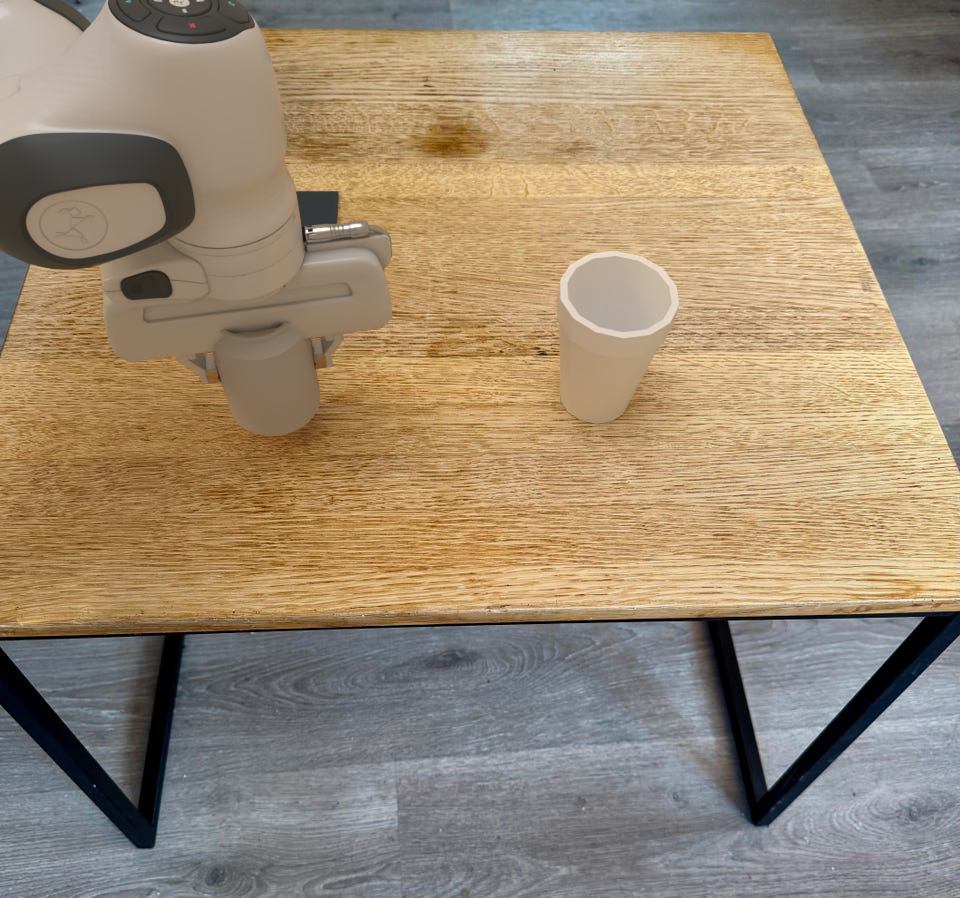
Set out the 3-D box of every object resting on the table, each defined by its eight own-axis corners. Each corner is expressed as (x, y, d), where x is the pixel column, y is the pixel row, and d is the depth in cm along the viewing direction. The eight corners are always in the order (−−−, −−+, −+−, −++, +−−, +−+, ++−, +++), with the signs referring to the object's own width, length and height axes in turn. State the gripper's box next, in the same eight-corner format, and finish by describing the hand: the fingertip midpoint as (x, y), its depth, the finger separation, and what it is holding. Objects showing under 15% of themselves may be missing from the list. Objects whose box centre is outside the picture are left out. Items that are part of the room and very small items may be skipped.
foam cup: (665, 393, 80) (701, 290, 69) (607, 455, 75) (636, 357, 65) (581, 340, 83) (603, 234, 72) (521, 397, 79) (535, 294, 68)
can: (236, 450, 71) (204, 352, 61) (226, 380, 75) (195, 277, 65) (328, 433, 72) (312, 334, 62) (314, 365, 76) (296, 262, 66)
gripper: (382, 188, 62) (390, 323, 73) (78, 221, 58) (136, 357, 70) (397, 250, 58) (403, 381, 70) (75, 288, 55) (136, 420, 66)
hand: (267, 369), depth 70 cm, fingers closed on can, 7 cm apart
